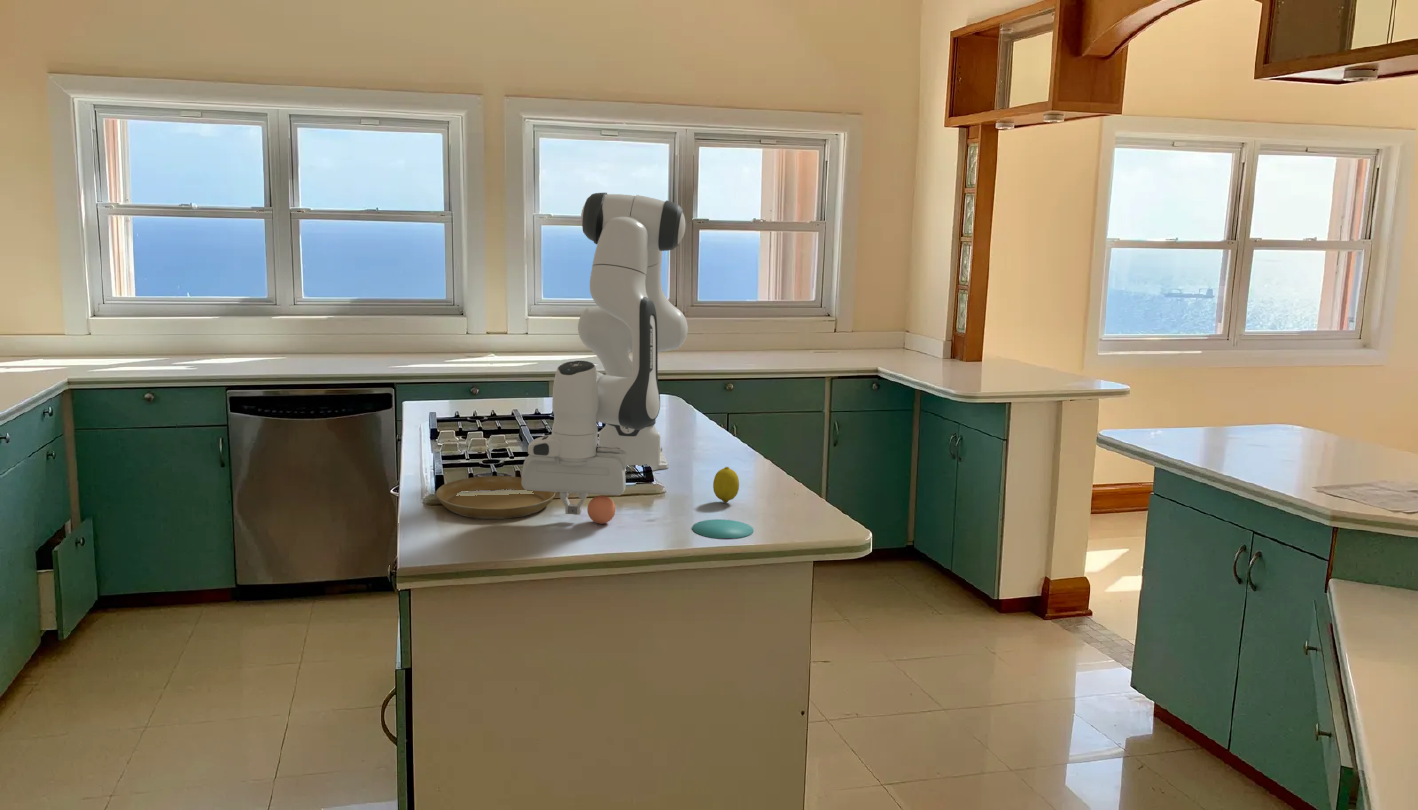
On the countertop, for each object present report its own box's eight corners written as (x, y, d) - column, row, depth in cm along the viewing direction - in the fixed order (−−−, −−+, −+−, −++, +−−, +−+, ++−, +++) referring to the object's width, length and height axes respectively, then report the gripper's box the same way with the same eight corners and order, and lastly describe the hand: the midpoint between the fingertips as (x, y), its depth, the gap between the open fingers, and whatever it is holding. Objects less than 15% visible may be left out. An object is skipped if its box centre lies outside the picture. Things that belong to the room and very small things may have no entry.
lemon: (735, 507, 217) (737, 470, 215) (710, 505, 218) (711, 468, 216) (740, 500, 222) (742, 465, 220) (715, 498, 223) (716, 462, 222)
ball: (589, 518, 205) (590, 491, 204) (616, 519, 204) (617, 493, 203) (585, 526, 199) (585, 499, 198) (613, 527, 199) (613, 500, 198)
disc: (694, 518, 207) (694, 518, 207) (753, 522, 207) (753, 521, 207) (690, 537, 195) (690, 536, 195) (753, 540, 195) (753, 539, 195)
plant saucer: (556, 523, 202) (556, 506, 201) (430, 524, 198) (430, 507, 197) (554, 490, 225) (554, 475, 225) (441, 490, 221) (441, 475, 221)
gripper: (629, 444, 202) (627, 512, 205) (527, 439, 203) (526, 506, 205) (625, 451, 196) (623, 521, 198) (519, 446, 197) (519, 515, 199)
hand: (573, 513), depth 202 cm, fingers closed
